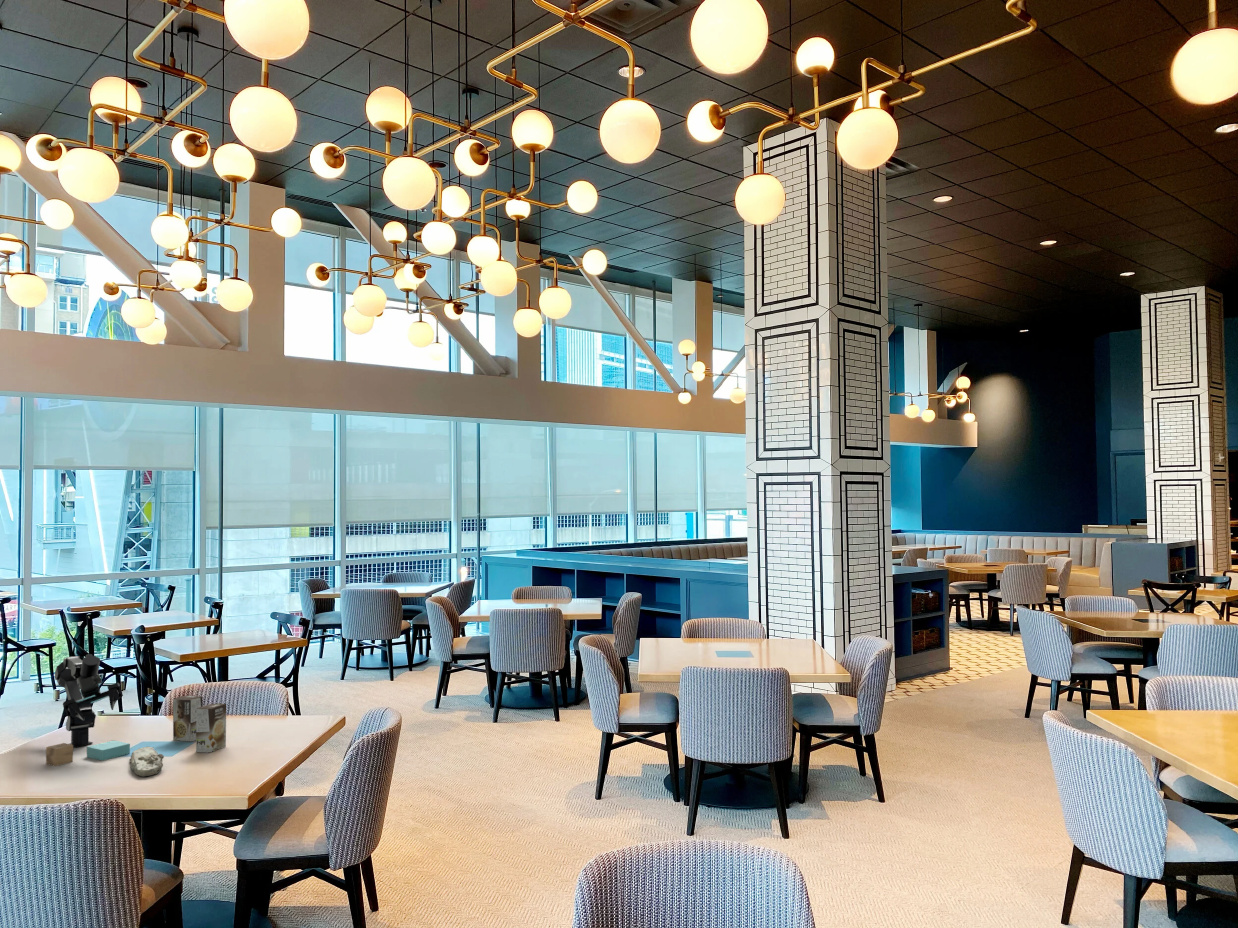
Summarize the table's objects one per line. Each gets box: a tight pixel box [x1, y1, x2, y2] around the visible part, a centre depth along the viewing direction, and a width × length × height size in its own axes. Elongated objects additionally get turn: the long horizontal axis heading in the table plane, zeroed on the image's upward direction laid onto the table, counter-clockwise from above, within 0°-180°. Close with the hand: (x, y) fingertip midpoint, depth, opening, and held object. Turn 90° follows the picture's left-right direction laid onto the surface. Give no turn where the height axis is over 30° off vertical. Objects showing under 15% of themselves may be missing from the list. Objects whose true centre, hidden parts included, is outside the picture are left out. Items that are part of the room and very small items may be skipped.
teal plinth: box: [86, 740, 131, 761], centre depth 326 cm, size 10×10×4 cm
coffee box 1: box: [172, 695, 204, 742], centre depth 348 cm, size 9×6×16 cm
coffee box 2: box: [195, 702, 227, 753], centre depth 332 cm, size 9×6×16 cm
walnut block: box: [45, 742, 74, 767], centre depth 317 cm, size 6×6×6 cm
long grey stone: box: [129, 746, 165, 777], centre depth 312 cm, size 35×5×10 cm
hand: (98, 714), depth 323 cm, fingers open, 9 cm apart
